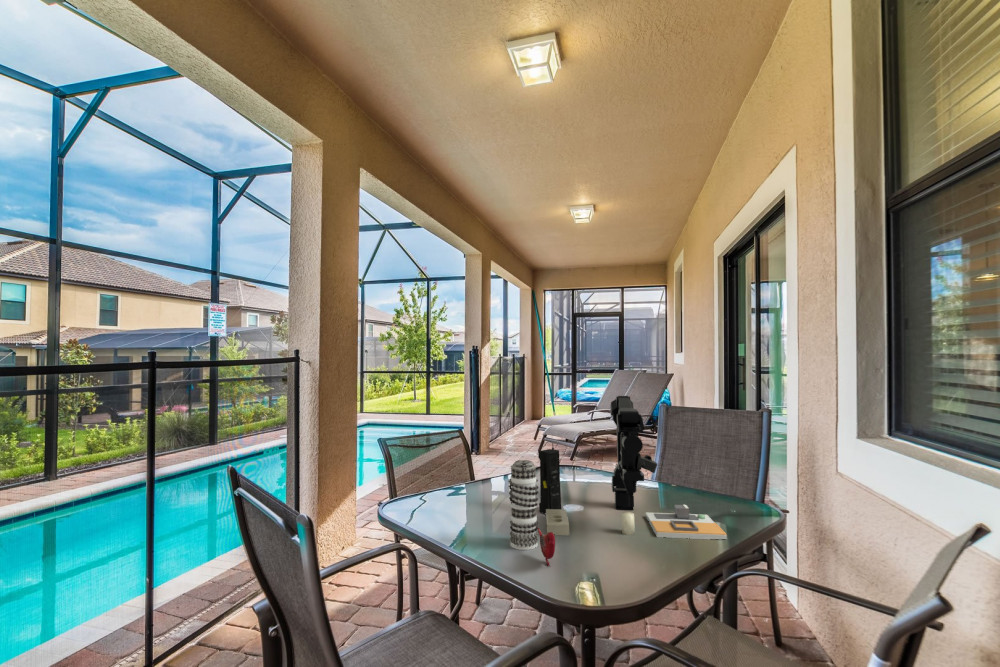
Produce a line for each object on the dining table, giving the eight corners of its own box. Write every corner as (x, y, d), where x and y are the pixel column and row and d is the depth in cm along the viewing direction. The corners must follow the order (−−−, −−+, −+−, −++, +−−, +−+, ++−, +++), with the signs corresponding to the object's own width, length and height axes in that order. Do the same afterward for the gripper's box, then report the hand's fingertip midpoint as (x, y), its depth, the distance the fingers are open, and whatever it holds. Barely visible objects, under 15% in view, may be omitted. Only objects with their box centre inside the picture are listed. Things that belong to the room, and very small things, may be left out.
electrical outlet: (565, 506, 166) (569, 524, 148) (565, 518, 165) (569, 537, 147) (545, 506, 166) (546, 523, 148) (545, 518, 166) (547, 536, 148)
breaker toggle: (677, 517, 158) (677, 507, 158) (674, 514, 162) (674, 504, 162) (689, 518, 158) (689, 508, 158) (686, 514, 162) (686, 504, 162)
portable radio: (548, 516, 166) (547, 446, 168) (536, 512, 171) (535, 444, 172) (562, 511, 171) (561, 444, 173) (551, 508, 176) (550, 442, 178)
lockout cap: (622, 534, 148) (622, 515, 148) (621, 530, 152) (620, 511, 152) (635, 535, 147) (635, 516, 148) (633, 530, 151) (633, 512, 152)
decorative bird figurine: (548, 575, 120) (548, 536, 120) (533, 548, 137) (533, 514, 138) (559, 574, 120) (559, 535, 121) (542, 548, 137) (542, 514, 138)
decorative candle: (509, 538, 145) (508, 458, 147) (538, 539, 145) (537, 458, 146) (508, 550, 136) (508, 464, 138) (540, 550, 136) (538, 464, 137)
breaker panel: (657, 537, 146) (656, 528, 146) (645, 516, 165) (645, 509, 166) (726, 540, 143) (726, 531, 143) (707, 518, 162) (706, 511, 163)
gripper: (660, 454, 142) (662, 506, 140) (650, 444, 160) (651, 490, 159) (623, 453, 143) (624, 504, 142) (617, 444, 162) (618, 489, 160)
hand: (630, 497), depth 151 cm, fingers closed
